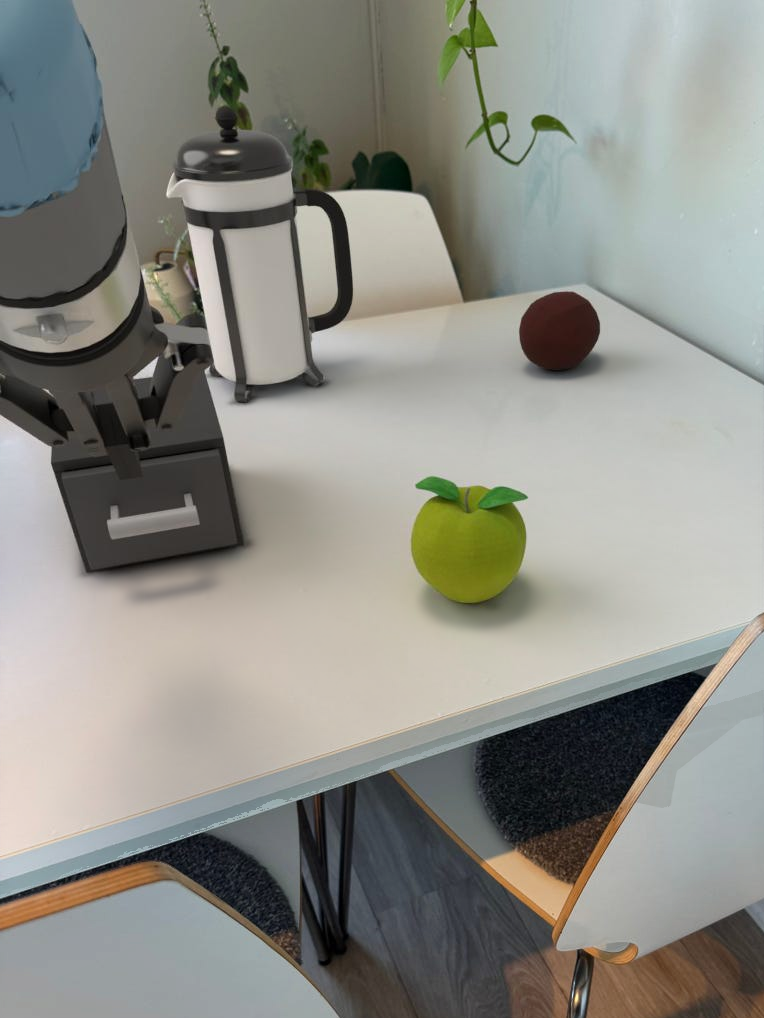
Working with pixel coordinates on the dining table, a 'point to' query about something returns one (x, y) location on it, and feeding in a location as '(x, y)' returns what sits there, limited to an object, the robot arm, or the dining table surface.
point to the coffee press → (254, 254)
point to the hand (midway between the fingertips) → (127, 459)
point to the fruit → (468, 539)
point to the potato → (559, 330)
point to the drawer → (151, 509)
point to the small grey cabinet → (156, 450)
